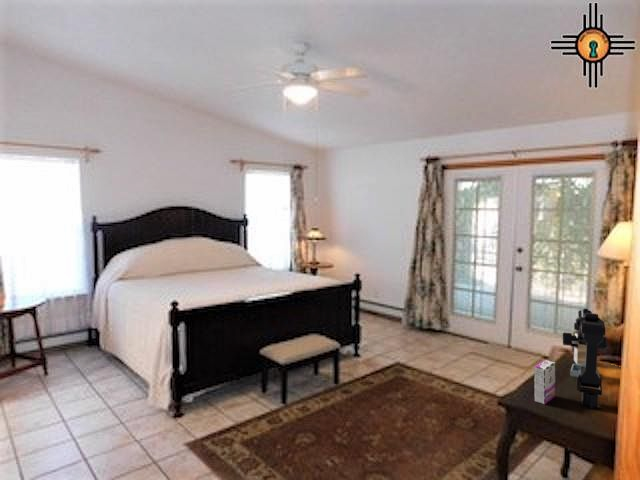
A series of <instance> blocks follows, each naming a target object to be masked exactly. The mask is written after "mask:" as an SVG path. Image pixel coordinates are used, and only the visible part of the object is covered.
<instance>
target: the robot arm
mask: <svg viewBox="0 0 640 480" xmlns="http://www.w3.org/2000/svg"><path fill="white" fill-rule="evenodd" d="M577 314H578V317H576V318H575V322H574V325H573V328H574V330H576V331H577V333H576V334H578V337H577V338H576V336H575V335H573V334H572V332H566V331H565V332H562V345H563V346H570V347H573V348H574V347H575V348H576V349H577V348H578V346H577V343H579V344H582V345H586V357H585V365H584V366H585V367H581V370H580V375H578V377H576V391H578V392H579V393H581V400H578V401H577V402H578V404H580V405H581V406H582V407H584V408H585V409H588V410H589V409H590V410H591V409H592V410H593V409H602V406H600V405H599V402H598V401H599V396H602V395H603V389H602V386H603V385H602V378H601V377H600V372H599V369H598V368H597V366H598V365H597V363H598V362H597V361H598V351H599V350H607V349H608V338H607V336H606V325H605V322H604V321H603V320H602V319H601V318H600V317H599V314H597V313H593V312H592V311H591V310H589V309H588V308H582V309H581V310H578V312H577ZM578 341H579V342H578Z"/></svg>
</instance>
